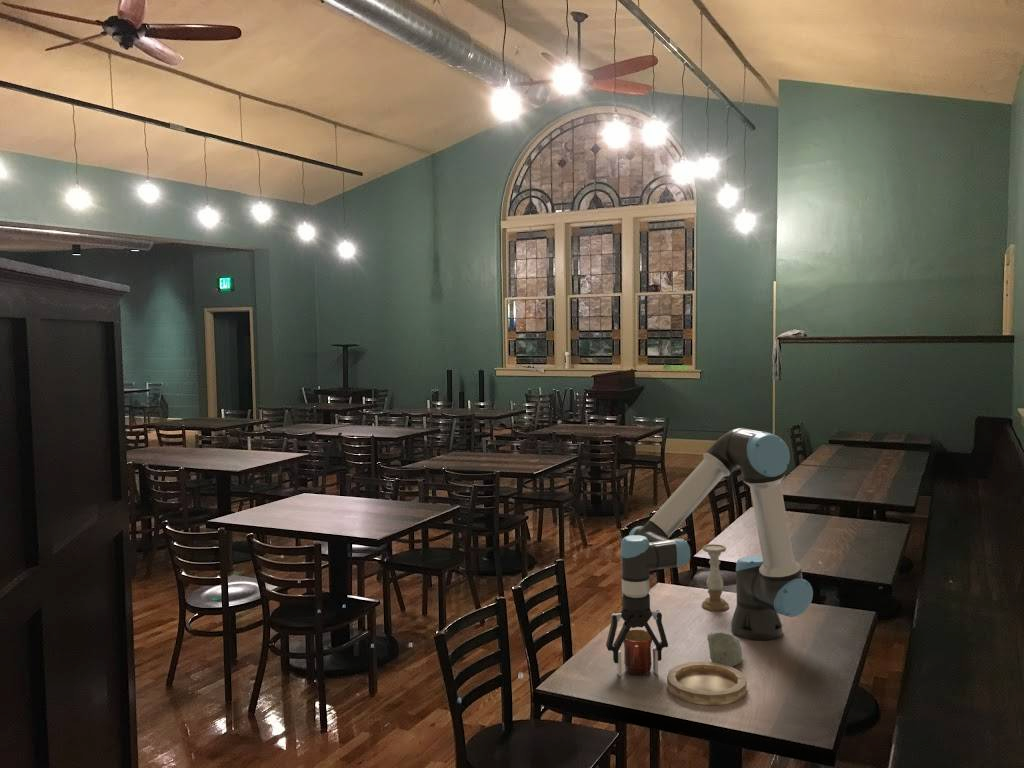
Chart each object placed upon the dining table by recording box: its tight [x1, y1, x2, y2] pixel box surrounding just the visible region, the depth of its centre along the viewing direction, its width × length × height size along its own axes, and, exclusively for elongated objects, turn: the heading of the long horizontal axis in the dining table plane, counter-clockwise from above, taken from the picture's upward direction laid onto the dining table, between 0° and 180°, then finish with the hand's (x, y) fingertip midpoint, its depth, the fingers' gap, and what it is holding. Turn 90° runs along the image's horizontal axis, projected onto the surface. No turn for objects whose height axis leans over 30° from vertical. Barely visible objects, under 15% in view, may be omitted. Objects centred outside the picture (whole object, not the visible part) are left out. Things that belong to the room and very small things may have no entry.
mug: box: [622, 628, 653, 676], centre depth 230 cm, size 12×9×10 cm
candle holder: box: [701, 543, 730, 612], centre depth 279 cm, size 9×9×20 cm
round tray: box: [666, 661, 748, 707], centre depth 220 cm, size 20×20×3 cm
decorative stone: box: [706, 631, 743, 668], centre depth 236 cm, size 13×11×10 cm
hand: (637, 672), depth 230 cm, fingers open, 9 cm apart
